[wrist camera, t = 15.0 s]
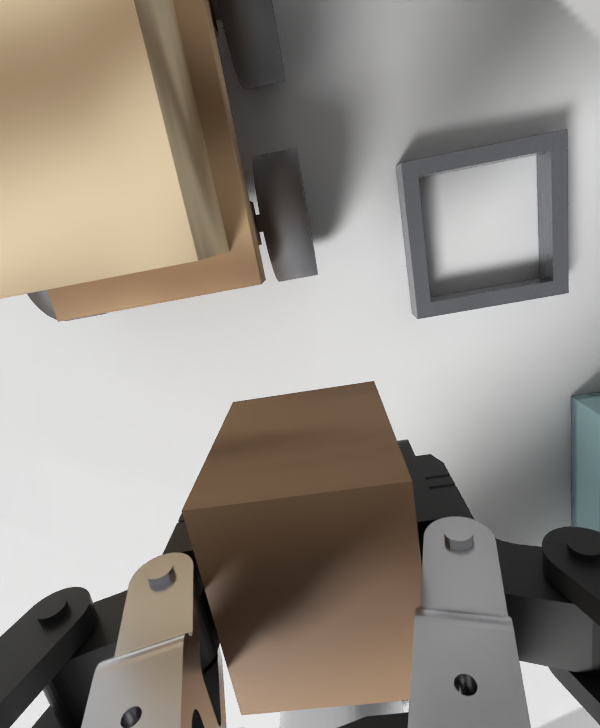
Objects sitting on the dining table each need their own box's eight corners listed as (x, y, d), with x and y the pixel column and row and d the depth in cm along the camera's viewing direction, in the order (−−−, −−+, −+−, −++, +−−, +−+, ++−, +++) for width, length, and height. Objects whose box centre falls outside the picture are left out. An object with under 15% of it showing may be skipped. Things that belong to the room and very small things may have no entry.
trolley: (317, 269, 25) (322, 377, 7) (97, 310, 27) (-391, 493, 8) (264, -42, 21) (-77, -1847, 3) (4, 23, 22) (-1454, -938, 4)
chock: (393, 531, 14) (436, 697, 9) (267, 547, 14) (241, 714, 9) (373, 381, 12) (412, 480, 7) (233, 402, 12) (181, 510, 8)
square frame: (554, 289, 25) (568, 292, 24) (412, 313, 26) (417, 318, 25) (551, 135, 23) (567, 128, 22) (395, 166, 24) (400, 162, 22)
